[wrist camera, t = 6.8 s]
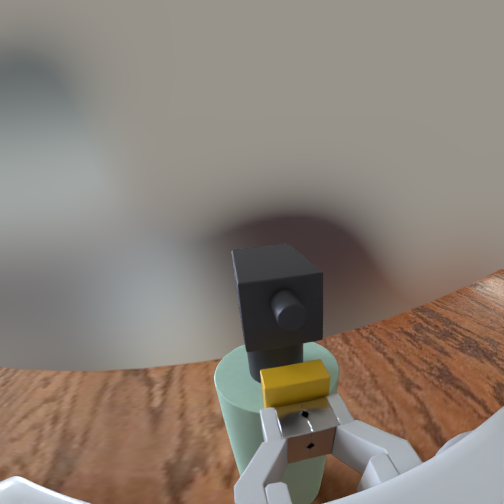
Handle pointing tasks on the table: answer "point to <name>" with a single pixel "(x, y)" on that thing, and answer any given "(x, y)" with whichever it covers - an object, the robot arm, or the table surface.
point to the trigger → (294, 383)
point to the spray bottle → (273, 350)
